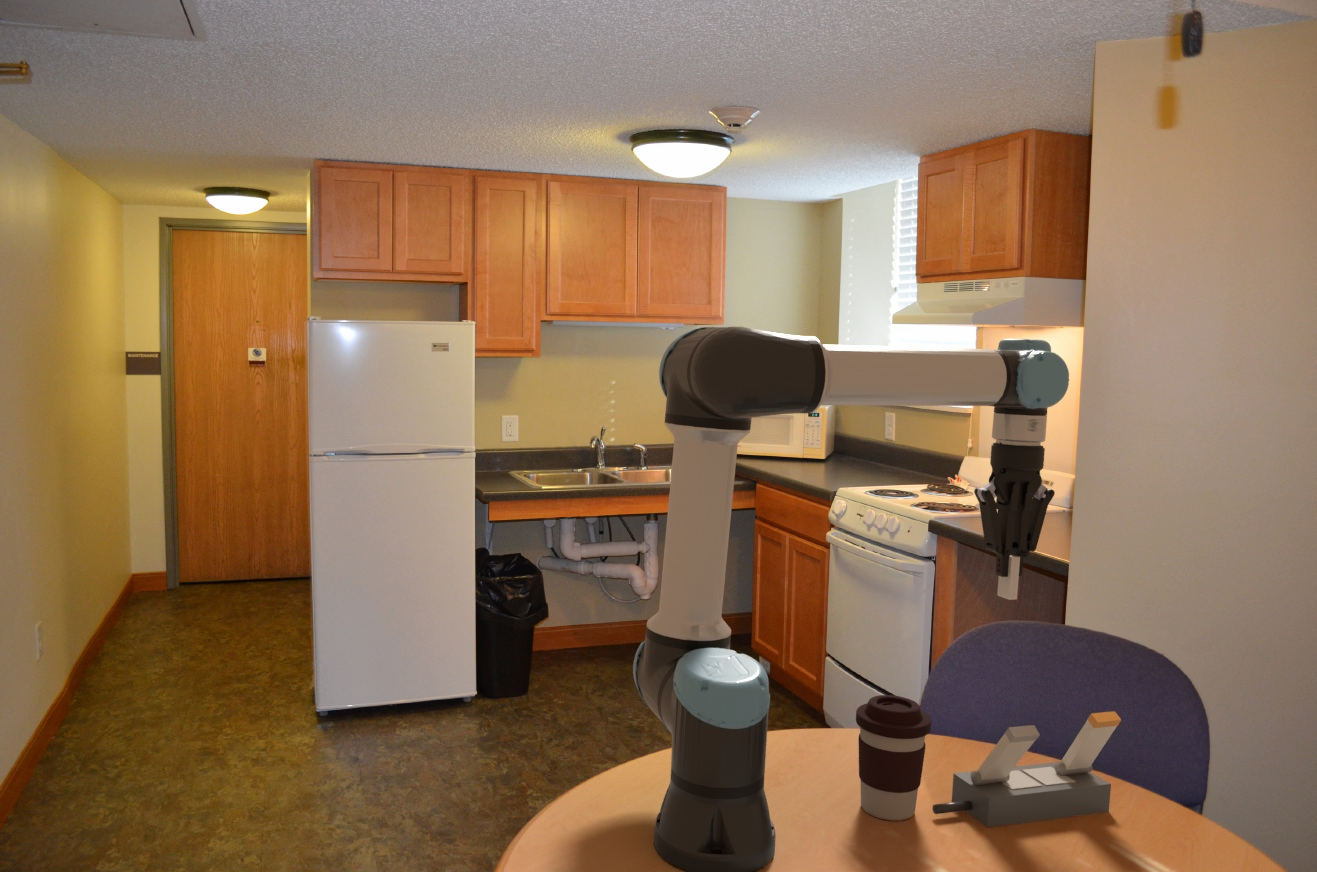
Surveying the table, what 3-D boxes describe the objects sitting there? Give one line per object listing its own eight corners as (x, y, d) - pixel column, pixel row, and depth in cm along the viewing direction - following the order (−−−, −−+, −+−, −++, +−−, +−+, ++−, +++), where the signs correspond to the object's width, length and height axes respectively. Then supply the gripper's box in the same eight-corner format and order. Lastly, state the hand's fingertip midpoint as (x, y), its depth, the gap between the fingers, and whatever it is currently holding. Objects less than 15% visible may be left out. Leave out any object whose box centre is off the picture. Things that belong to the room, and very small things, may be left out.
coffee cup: (927, 831, 127) (934, 720, 126) (850, 821, 129) (857, 711, 128) (922, 798, 137) (929, 694, 136) (850, 789, 139) (857, 687, 138)
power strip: (951, 831, 127) (954, 801, 127) (917, 804, 135) (919, 775, 134) (1108, 811, 135) (1111, 782, 135) (1068, 786, 143) (1070, 759, 142)
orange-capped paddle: (1060, 777, 136) (1095, 723, 130) (1052, 767, 138) (1087, 712, 132) (1088, 774, 138) (1125, 720, 132) (1081, 764, 139) (1117, 710, 133)
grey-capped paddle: (974, 787, 132) (1011, 738, 125) (968, 775, 134) (1004, 726, 127) (1005, 783, 134) (1043, 735, 127) (999, 772, 135) (1036, 723, 128)
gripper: (997, 444, 140) (986, 605, 141) (1071, 445, 144) (1059, 601, 146) (965, 439, 147) (955, 592, 149) (1037, 440, 151) (1026, 589, 153)
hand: (1007, 597), depth 147 cm, fingers closed
